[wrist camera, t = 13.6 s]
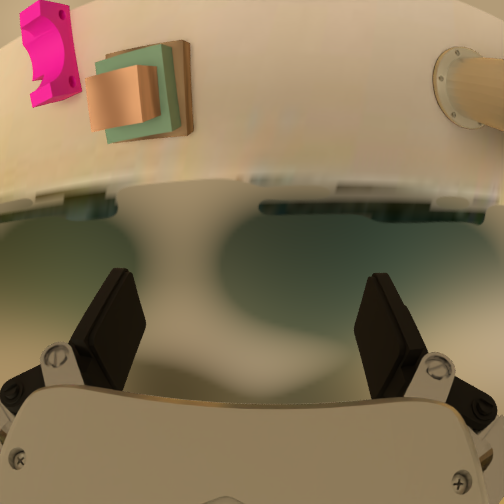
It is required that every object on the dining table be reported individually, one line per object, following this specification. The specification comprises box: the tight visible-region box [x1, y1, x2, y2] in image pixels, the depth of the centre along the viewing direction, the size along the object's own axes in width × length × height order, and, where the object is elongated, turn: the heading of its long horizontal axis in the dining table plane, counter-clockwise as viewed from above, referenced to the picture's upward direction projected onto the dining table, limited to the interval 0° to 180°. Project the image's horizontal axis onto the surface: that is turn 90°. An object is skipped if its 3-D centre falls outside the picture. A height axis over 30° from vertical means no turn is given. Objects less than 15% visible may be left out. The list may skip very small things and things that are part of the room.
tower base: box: [106, 40, 193, 143], centre depth 33 cm, size 10×12×4 cm
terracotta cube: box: [85, 65, 161, 132], centre depth 25 cm, size 6×6×6 cm
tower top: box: [95, 44, 181, 144], centre depth 29 cm, size 8×10×4 cm
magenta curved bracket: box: [20, 0, 82, 108], centre depth 27 cm, size 15×6×8 cm, turn 9°
